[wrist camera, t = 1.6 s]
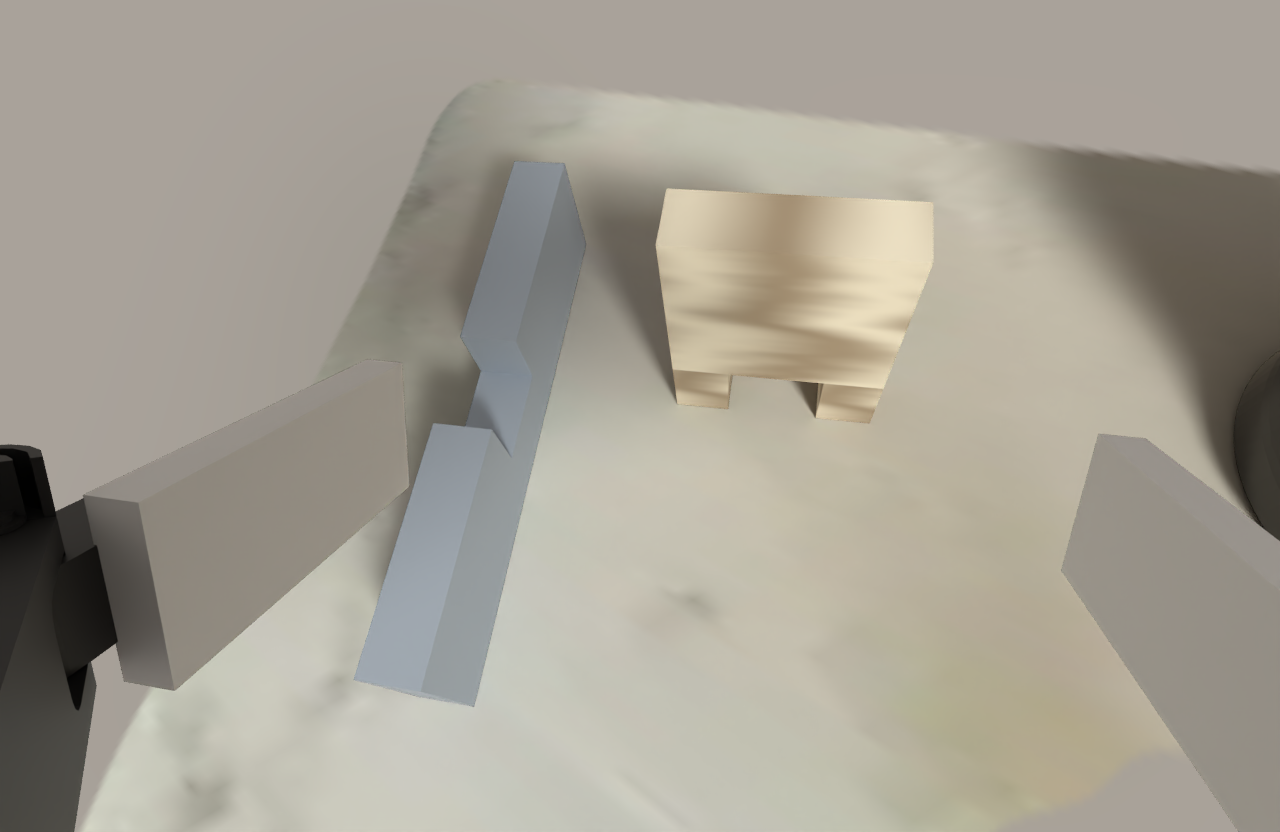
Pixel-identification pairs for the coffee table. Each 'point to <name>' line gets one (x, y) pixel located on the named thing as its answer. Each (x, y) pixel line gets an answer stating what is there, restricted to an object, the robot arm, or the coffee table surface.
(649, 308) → the coffee table surface
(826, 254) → the wooden arch block
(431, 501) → the grey rail
